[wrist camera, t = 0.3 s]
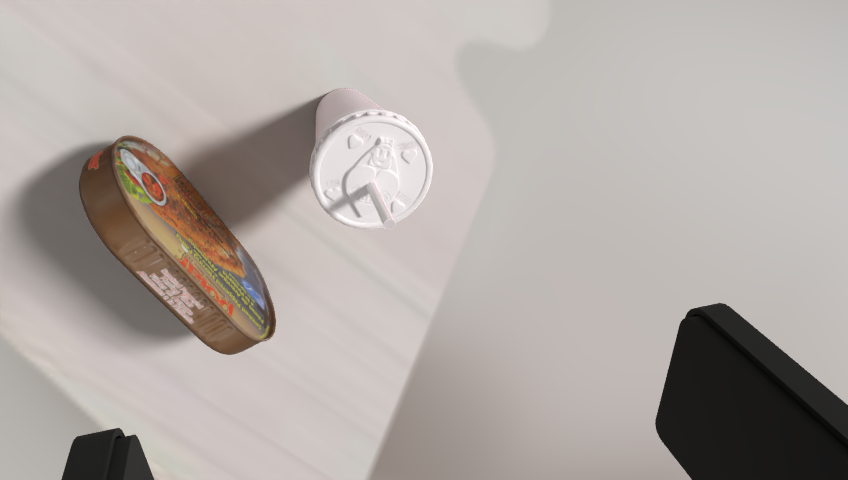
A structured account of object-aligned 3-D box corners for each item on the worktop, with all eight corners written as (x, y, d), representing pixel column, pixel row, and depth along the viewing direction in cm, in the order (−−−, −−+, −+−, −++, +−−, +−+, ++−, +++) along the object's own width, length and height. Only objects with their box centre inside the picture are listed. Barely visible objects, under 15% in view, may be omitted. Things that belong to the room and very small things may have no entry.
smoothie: (283, 150, 38) (305, 262, 27) (308, 53, 36) (345, 130, 24) (376, 171, 41) (433, 282, 29) (405, 82, 38) (481, 164, 27)
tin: (276, 286, 43) (284, 362, 36) (238, 307, 43) (240, 387, 36) (133, 113, 35) (109, 168, 28) (87, 140, 35) (51, 202, 28)
